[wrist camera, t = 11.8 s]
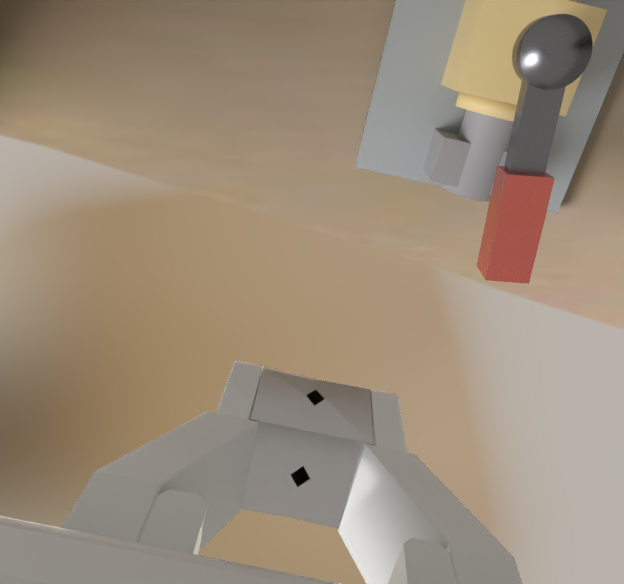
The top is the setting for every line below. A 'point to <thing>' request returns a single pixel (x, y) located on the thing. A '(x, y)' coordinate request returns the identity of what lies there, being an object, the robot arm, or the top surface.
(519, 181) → the lever
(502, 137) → the valve assembly
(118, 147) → the top surface
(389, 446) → the robot arm
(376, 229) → the top surface
